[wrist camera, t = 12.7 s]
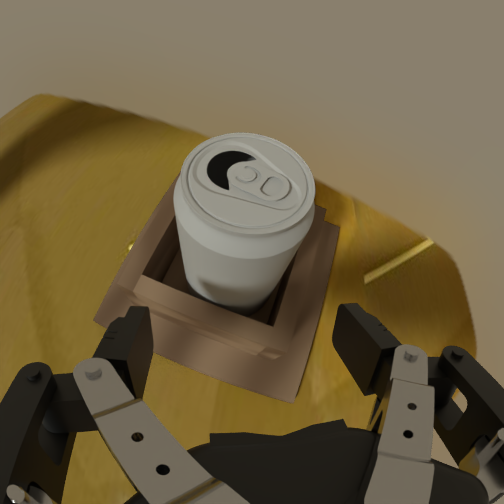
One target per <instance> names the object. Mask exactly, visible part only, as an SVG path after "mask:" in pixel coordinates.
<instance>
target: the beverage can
mask: <svg viewBox="0 0 504 504" xmlns="http://www.w3.org/2000/svg"><path fill="white" fill-rule="evenodd" d="M314 197H315V182H314V178H313V175H312V173H311V170H310V169H309V167H308V165H307V164H306V162H305V161H304V160H303V159H302V158H301V157H300V155H298V154H297V153H296V152H295V151H294V150H293V149H291V148H290V147H288V146H287V145H285V144H283V143H281V142H279V141H277V140H275V139H273V138H270V137H266V136H263V135H259V134H253V133H229V134H224V135H220V136H217V137H213V138H211V139H209V140H206V141H205V142H203V143H201V144H200V145H198V146H197V147H196V148H195V149H194V150H193V151H192V152H191V153H190V154H189V155H188V156H187V158H186V159H185V161H184V163H183V166H182V169H181V174H180V176H179V178H178V180H177V182H176V185H175V189H174V198H173V199H174V209H175V215H176V222H177V228H178V234H179V241H180V246H181V252H182V258H183V263H184V269H185V274H186V279H187V285H188V289H189V292H190V294H191V296H193V297H196V298H198V299H201V300H203V301H206V302H208V303H211V304H213V305H216V306H218V307H221V308H223V309H226V310H229V311H231V312H234V313H237V314H239V315H242V316H245V317H248V316H250V315H252V314H254V313H255V312H257V311H258V310H259V309H260V308H261V307H262V306H263V305H264V304H265V303H266V301H267V300H268V298H269V297H270V295H271V293H272V292H273V290H274V288H275V287H276V285H277V283H278V282H279V280H280V278H281V277H282V275H283V273H284V272H285V270H286V268H287V267H288V265H289V263H290V262H291V260H292V258H293V256H294V255H295V253H296V251H297V250H298V248H299V246H300V244H301V243H302V241H303V239H304V238H305V236H306V234H307V232H308V231H309V229H310V226H311V224H312V222H313V218H314V212H315V205H314Z"/></svg>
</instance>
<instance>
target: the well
mask: <svg viewBox="0 0 504 504" xmlns="http://www.w3.org/2000/svg"><path fill="white" fill-rule="evenodd" d="M180 174H181V171H180V173H179V174H178V176H177V177H176V179H175V180H174V182H173V183H172V184H171V186H170V187H169V189H168V190H167V192H166V193H165V195H164V196H163V198H162V200H161V201H160V203H159V204H158V206H157V207H156V209H155V210H154V212H153V213H152V215H151V217H150V218H149V220H148V221H147V223H146V225H145V226H144V228H143V230H142V231H141V233H140V235H139V236H138V238H137V240H136V241H135V243H134V245H133V246H132V248H131V250H130V252H129V253H128V255H127V257H126V259H125V260H124V262H123V264H122V266H121V267H120V269H119V271H118V273H117V275H116V277H115V278H114V280H113V282H112V284H111V286H110V288H109V290H108V292H107V294H106V296H105V298H104V300H103V301H102V303H101V305H100V307H99V310H98V312H97V314H96V316H95V318H94V320H93V321H95V322H96V323H98V324H100V325H101V326H103V327H105V328H108V326H109V325H110V323H111V322H113V321H114V320H115V319H116V318H118V317H125V315H126V313H127V311H128V309H129V307H130V306H148V307H149V311H150V318H151V326H152V333H153V341H154V349H153V352H154V353H156V354H159V355H161V356H163V357H165V358H167V359H170V360H172V361H174V362H176V363H179V364H181V365H183V366H186V367H188V368H191V369H193V370H195V371H198V372H200V373H203V374H206V375H208V376H211V377H213V378H216V379H219V380H221V381H224V382H227V383H229V384H232V385H235V386H238V387H241V388H244V389H247V390H250V391H253V392H256V393H259V394H262V395H265V396H268V397H272V398H275V399H278V400H282V401H285V402H289V403H294V400H295V397H296V394H297V391H298V388H299V385H300V382H301V378H302V375H303V372H304V369H305V365H306V362H307V359H308V355H309V352H310V349H311V345H312V341H313V338H314V334H315V331H316V327H317V323H318V320H319V316H320V312H321V308H322V304H323V300H324V296H325V292H326V288H327V284H328V279H329V275H330V271H331V266H332V262H333V257H334V252H335V248H336V243H337V238H338V233H339V228H340V227H338V226H336V225H333V224H331V223H328V222H326V221H324V217H325V213H326V209H325V208H322V207H319V206H317V205H315V212H314V218H313V222H312V224H311V226H310V229H309V231H308V232H307V234H306V236H305V238H304V239H303V241H302V243H301V244H300V246H299V248H298V250H297V251H296V253H295V255H294V256H293V258H292V260H291V262H290V263H289V265H288V267H287V268H286V270H285V272H284V273H283V275H282V277H281V278H280V280H279V282H278V283H277V285H276V287H275V288H274V290H273V292H272V293H271V295H270V297H269V298H268V300H267V301H266V303H265V304H264V305H263V306H262V307H261V308H260V309H259V310H258V311H257V312H255V313H254V314H252V315H250V316H248V317H245V316H242V315H239V314H237V313H234V312H231V311H229V310H226V309H223V308H221V307H218V306H216V305H213V304H211V303H208V302H206V301H203V300H201V299H198V298H196V297H193V296H191V294H190V292H189V289H188V285H187V279H186V274H185V269H184V263H183V258H182V252H181V246H180V241H179V234H178V228H177V222H176V215H175V209H174V199H173V198H174V189H175V185H176V182H177V180H178V178H179V176H180Z"/></svg>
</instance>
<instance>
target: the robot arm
mask: <svg viewBox="0 0 504 504" xmlns="http://www.w3.org/2000/svg"><path fill="white" fill-rule="evenodd" d="M332 342H333V346H334V348H335V350H336V351H337V353H338V354H339V356H340V358H341V359H342V361H343V362H344V364H345V366H346V367H347V369H348V370H349V372H350V374H351V375H352V377H353V378H354V380H355V382H356V383H357V385H358V386H359V388H360V390H361V391H362V393H363V394H364V396H367V395H371V394H375V393H376V395H377V397H376V399H375V401H374V405H373V408H372V412H371V415H370V419H369V422H368V425H367V428H366V430H365V429H359V428H347V426H346V424H345V422H344V420H343V419H341V420H336V421H331V422H326V423H320V424H314V425H311V426H309V427H306V428H303V429H301V430H298V431H295V432H292V433H290V434H287V435H283V436H274V435H263V434H254V433H246V432H241V433H210V443H206V444H202V445H199V446H196V447H194V448H191V449H189V450H187V451H186V450H185V449H184V448H183V447H182V446H181V445H180V444H179V443H178V441H177V440H176V439H175V438H174V437H173V436H172V435H171V434H170V433H169V431H168V430H167V429H166V428H165V427H164V426H163V425H162V423H161V422H160V421H159V420H158V419H157V417H156V416H155V415H154V414H153V412H152V411H151V410H150V409H149V408H148V406H147V405H146V404H145V402H144V401H143V400H142V398H143V393H144V389H145V384H146V380H147V376H148V372H149V367H150V363H151V359H152V355H153V349H154V341H153V333H152V326H151V318H150V311H149V307H148V306H130V307H129V309H128V311H127V313H126V315H125V317H118V318H116V319H115V320H114V321H113V322H111V323H110V325H109V326H108V328H107V330H106V332H105V334H104V336H103V338H102V340H101V342H100V343H99V345H98V347H97V349H96V351H95V353H94V355H93V357H92V358H89V359H86V360H83V361H81V362H80V363H78V364H77V365H76V367H75V368H74V371H73V373H67V374H54V375H53V373H52V371H51V369H50V367H49V366H48V365H47V364H45V363H41V362H34V363H30V364H27V365H26V366H24V367H23V368H21V369H20V371H19V372H18V374H17V375H16V377H15V379H14V380H13V382H12V384H11V386H10V387H9V389H8V391H7V393H6V394H5V396H4V398H3V400H2V402H1V403H0V504H61V501H62V496H63V490H64V485H65V480H66V475H67V470H68V466H69V462H70V457H71V453H72V449H73V445H74V441H75V438H76V434H77V432H85V431H96V430H98V431H99V433H100V435H101V437H102V439H103V440H104V442H105V444H106V446H107V447H108V449H109V451H110V452H111V454H112V455H113V457H114V459H115V460H116V462H117V463H118V465H119V467H120V468H121V470H122V471H123V473H124V474H125V476H126V477H127V479H128V480H129V482H130V483H131V485H132V486H133V487H134V489H135V490H136V491H137V493H136V494H135V495H133V496H132V497H131V498H130V499H129V500H127V501H126V502H125V503H124V504H492V503H494V502H495V501H497V500H498V499H499V498H500V497H502V496H503V495H504V389H503V388H502V386H501V385H500V384H499V383H498V382H497V381H496V380H495V379H494V378H493V377H492V376H491V375H490V374H489V373H488V372H487V371H486V370H485V369H484V368H483V367H482V366H481V365H480V364H479V363H478V362H477V361H476V360H475V359H474V358H473V357H472V356H471V355H470V354H469V353H468V352H467V351H466V350H464V349H462V348H460V347H457V346H447V347H445V348H444V349H443V351H442V353H441V356H440V357H427V354H426V353H425V352H424V351H423V350H422V349H420V348H418V347H416V346H413V345H402V344H401V343H400V342H399V341H398V340H397V339H396V338H395V337H394V336H393V335H392V334H391V332H390V331H389V330H388V331H387V328H386V327H385V326H384V325H382V323H381V322H380V321H379V320H378V319H377V318H376V317H374V316H372V315H370V314H369V313H366V312H365V311H364V310H363V309H362V308H361V307H360V306H359V304H357V303H349V304H340V305H339V307H338V311H337V316H336V320H335V325H334V330H333V335H332ZM457 388H458V389H459V390H460V391H461V392H462V394H463V395H464V396H465V397H466V399H467V404H468V405H467V409H466V411H465V412H464V413H463V412H462V411H461V410H460V408H459V407H458V406H457V404H456V403H455V402H454V401H453V399H452V398H451V397H452V396H453V394H454V392H455V390H456V389H457ZM433 427H434V429H435V430H436V432H437V434H438V435H439V436H440V438H441V440H442V441H443V442H444V444H445V446H446V448H447V449H448V451H449V452H450V454H451V456H452V457H453V459H454V460H455V462H456V463H457V465H458V467H459V469H457V468H455V467H452V466H449V465H447V464H444V463H442V462H439V461H437V460H434V459H432V458H431V449H432V438H433Z"/></svg>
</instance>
